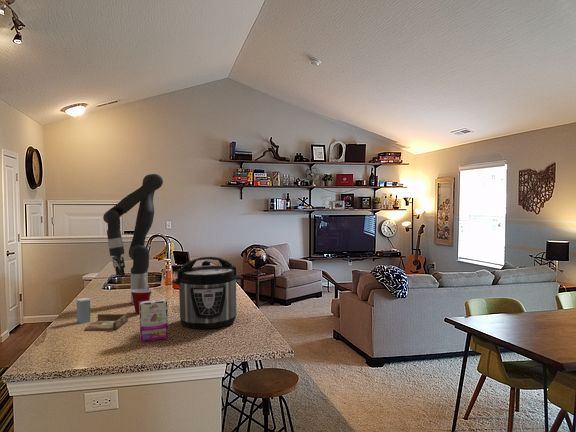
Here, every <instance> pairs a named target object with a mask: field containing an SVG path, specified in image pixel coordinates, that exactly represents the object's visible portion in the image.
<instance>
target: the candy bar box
mask: <svg viewBox="0 0 576 432" xmlns="http://www.w3.org/2000/svg"><path fill="white" fill-rule="evenodd" d="M138 315H139V340H140V343H148V342H155V341H156V342H157V341H164V340H168V339H169V326H168V325H169V323H168V300H167V299H166V298H163V299H162V298H161V299H160V298H159V299H153V300H151V299H150V300H149V301H140V302H139V314H138Z"/></svg>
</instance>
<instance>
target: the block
mask: <svg viewBox="0 0 576 432" xmlns="http://www.w3.org/2000/svg"><path fill="white" fill-rule="evenodd" d="M76 322H77V323H78V324H87V323H90V322H91V298H88V297H83V298H82V297H81V298H77V299H76Z"/></svg>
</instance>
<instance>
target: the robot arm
mask: <svg viewBox="0 0 576 432" xmlns="http://www.w3.org/2000/svg"><path fill="white" fill-rule="evenodd" d="M163 184H164V179H163V178H162V176H161V175H160V174H157V173H150V174H149V173H148V174H147V175H145V176H144V177H143V179H142V185H141V186H139V187H138V188H137V189H136V190H134V191H132V192H131V193H129V194H128V195H126V196H125V197H124V198H122V199H121V200H120V201H119V202H117V204H115V205H114V206H113V207H111V208H110V209H108V210H107V211H106V212H105V213H103V218H102V219H103V221H104V222H105V224H107V230H106V234H107V235H106V236H107V244H108V245H107V246H108V251H109V256H110V257H112V258H111V259H112V265H113V268H114V269H115V275H116V276H120V277H125V275H126V273H125V268H126V264H125V259H124V256H122V255H125V248H124V243H123V242H124V241H123V239H122V238H123V237H122V233H121V217H122V216H123V215H125V214H126V213H128V212H129V211H130V210H132V209H133V208H134V207H135V206H136V205H139V206H138V210H137V214H136V219H135V224H134V225H135V226H134V230H133V236H132V239H131V242H130V246H129V250H128V257H129V258H130V259H131V260H132V267H131V268H130V291H131V290H137V289H148V290H150V284H149V285H148V283H149V282H148V280H149V279H148V278H149V277H148V273H149V272H148V270H149V267H150V251H149V249H148V247H146V246H145V242H146V237H147V235H148V233H149V231H150V229H151V227H152V226H153V222H154V218H155V217H154V216H155V205H154V196H155V192H156V191H157V190H158V189H160V188H161V187H162V186H163ZM130 303H131V304H133V305H134V302H133V297H132V293H131V292H130Z"/></svg>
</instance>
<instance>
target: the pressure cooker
mask: <svg viewBox="0 0 576 432" xmlns="http://www.w3.org/2000/svg"><path fill="white" fill-rule="evenodd" d="M209 260H213V261H218V262H219V263H220V264H221V265H214V264H213V265H211V261H209ZM199 261H203V262H201V265H199V266H194V265H195V264H196V262H199ZM176 273H177V278H173V279H172V280H171V281H172V282H171V283H172V284H174V285H176V286H178V290H179V291H178V293H179V294H178V296H179V320H180V322H181V324H183V325H184V326H185V327H187V328H191V329H192V328H193V329H202V330H203V329H205V330H206V329H215V328H221V327H225V326H228V325H231V324H233V323H234V322H235V320H236V317H237V309H238V308H237V280H239V281H240V280H243V275H240V274H237V267H236V266H235V265H233V263H232V262H230V261H228V260H227V259H225V258H223V257H217V256H216V257H215V256H204V257H203V256H202V257H197V258H194V259H192V260H190V261H188V262H185V263H184V264H183V265H182V267H181V268H178V269H177V272H176Z"/></svg>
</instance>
